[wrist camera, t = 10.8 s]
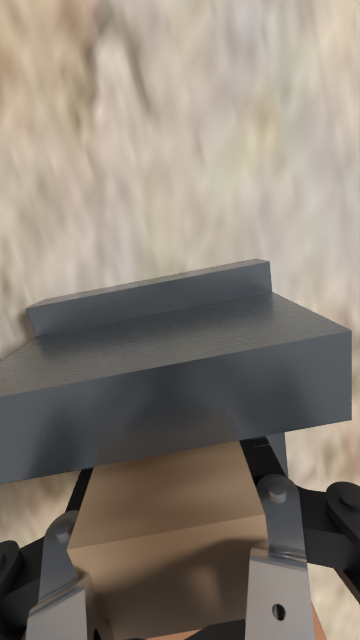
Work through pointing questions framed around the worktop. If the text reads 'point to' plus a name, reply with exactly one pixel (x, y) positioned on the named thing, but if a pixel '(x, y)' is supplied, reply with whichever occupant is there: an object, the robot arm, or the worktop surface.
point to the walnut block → (170, 540)
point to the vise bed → (168, 372)
